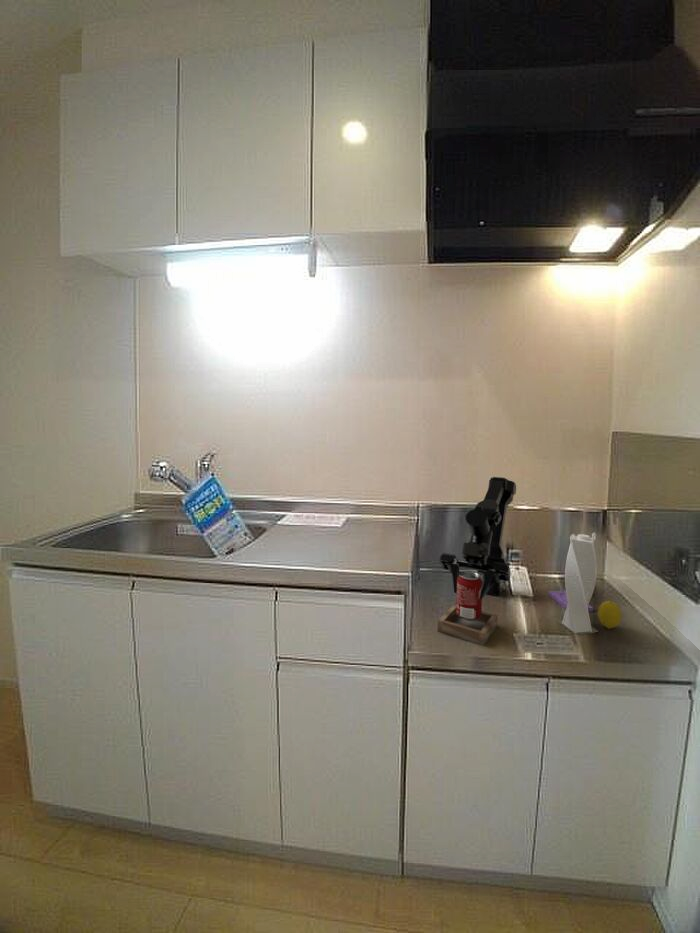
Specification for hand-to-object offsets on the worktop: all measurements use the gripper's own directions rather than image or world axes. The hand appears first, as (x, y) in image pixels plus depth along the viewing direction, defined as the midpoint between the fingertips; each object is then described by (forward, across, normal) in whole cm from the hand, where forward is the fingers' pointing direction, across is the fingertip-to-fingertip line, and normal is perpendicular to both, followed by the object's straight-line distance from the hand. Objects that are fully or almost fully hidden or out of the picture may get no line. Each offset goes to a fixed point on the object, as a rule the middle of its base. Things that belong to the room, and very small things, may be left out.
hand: (467, 595), depth 115 cm
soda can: (+4, 0, +6) cm, 7 cm away
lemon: (-7, +34, +22) cm, 41 cm away
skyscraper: (-4, +26, +19) cm, 32 cm away
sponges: (-16, +23, +32) cm, 42 cm away
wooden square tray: (+6, 0, +8) cm, 10 cm away
